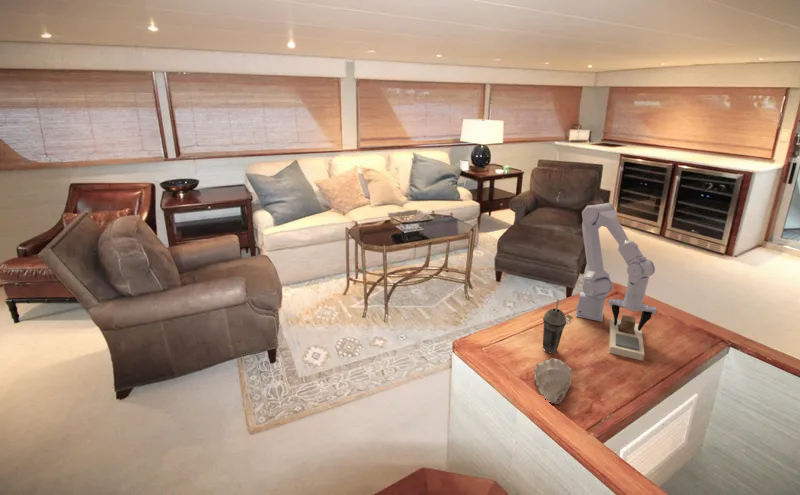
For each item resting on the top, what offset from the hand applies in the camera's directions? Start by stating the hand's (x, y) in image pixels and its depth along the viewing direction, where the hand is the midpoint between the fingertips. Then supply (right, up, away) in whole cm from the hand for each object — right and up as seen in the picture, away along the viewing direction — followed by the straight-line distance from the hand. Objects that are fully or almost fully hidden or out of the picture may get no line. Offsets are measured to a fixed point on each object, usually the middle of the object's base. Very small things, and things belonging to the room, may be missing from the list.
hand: (627, 326), depth 149 cm
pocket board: (-2, -5, -2) cm, 5 cm away
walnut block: (0, -3, +1) cm, 4 cm away
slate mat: (-4, -4, -7) cm, 9 cm away
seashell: (-35, -14, -25) cm, 45 cm away
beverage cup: (-30, -7, -7) cm, 32 cm away
